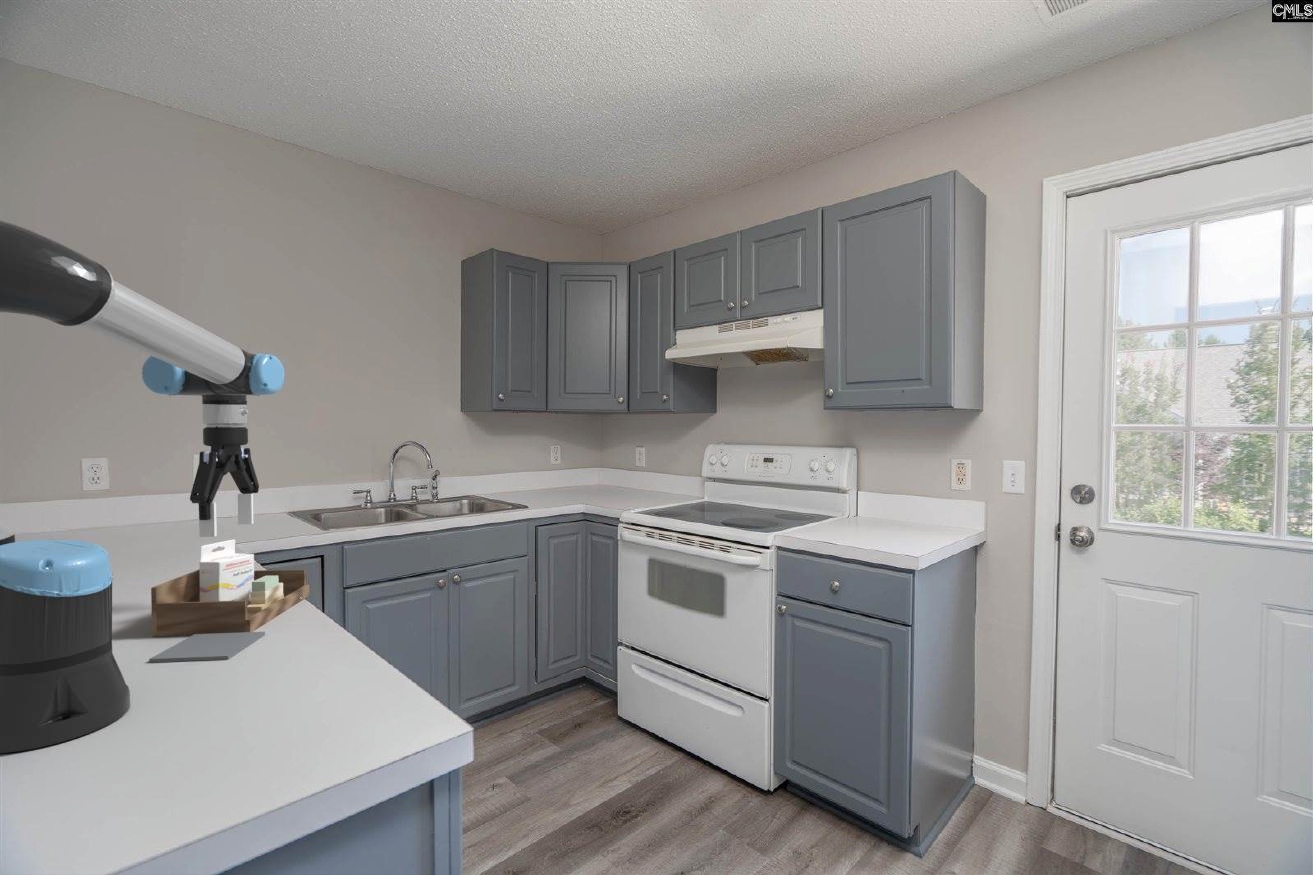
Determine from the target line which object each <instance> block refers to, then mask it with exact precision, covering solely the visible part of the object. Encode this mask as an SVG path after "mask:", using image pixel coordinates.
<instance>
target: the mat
mask: <svg viewBox="0 0 1313 875" xmlns="http://www.w3.org/2000/svg"><path fill="white" fill-rule="evenodd" d="M265 635H266V631H253V632H242V633H214V634H194V635H189V637H187V638H185V639H183V640H181V641H179V642H178V643H176V644H174V645H173V646H171V647H169V648H166V649H165V650H163V651H160V652H159V653H157V654H156V655H154V656H152V657H150V658H149V659H148V662H149V663H150V664H151V663H172V662H173V663H174V662H175V663H176V662H198V661H221V660H222V661H225V660H230V659H231V658H232V657H234V656H236V655H237V654H239V653H240V652H241V651H244V650H245V649H246V648H248V647H249V646H250V645H252V644H254V643H255V642H257V641H258V640H260V639H261V638H263V637H264V636H265Z"/></svg>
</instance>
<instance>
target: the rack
mask: <svg viewBox="0 0 1313 875" xmlns="http://www.w3.org/2000/svg"><path fill="white" fill-rule="evenodd" d="M306 574H307V570H306V569H305V568H304V569H303V568H301V569H300V568H299V569H267V570H266V569H265V570H263V569H261V570H260V569H259V570H258V569H257V570H254V581H255V580H257V579H259V578H262V577H264V576H275V575H278V578H279V583H283V594H284V598H282V599H280V600H279V601H277V602H275V603H274V604H272V605H270V606H269V607H267V608H265V609H263V610H262V611H260V612H258V613H257V614H255V615H253V616H251V617H250V618H248V619H247V600H240V601H206V602H200V568H199V569H197V570H194V571H192V572H189V573H187V574H183V575H181V576H178V577H175V578H174V579H170V580H168V581H165V582H163V583H160V584H158V585H155V586H152V587H151V588H150V591H151V595H150V596H151V601H150V603H151V605H150V606H151V637H177V636H178V637H181V636H183V637H184V636H192V635H194V634H214V633H242V632H255V631H256V630H258V629H259V628H261V627H262V626H264V625H266V624H267V623H269V622H270V621H271V620H273V619H275V618H276V617H279V616H280V615H281V614H283V613H285V612H286V611H287V610H290V609H291V608H292V607H294V606H296V605H297V604H299V603H301V602H302V601H303V600H305V599H307V598H308V597H310V594H311V592H310V586H311V585H310V584H307V580H306V579H307V578H306V577H307V576H306ZM300 597H301V598H302V599H303V600H302V599H301V598H300Z"/></svg>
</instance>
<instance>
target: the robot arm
mask: <svg viewBox="0 0 1313 875" xmlns="http://www.w3.org/2000/svg"><path fill="white" fill-rule="evenodd" d="M0 313H9V314H18V315H19V314H20V315H26V316H33V317H38V318H41V319H46V320H47V321H51V322H53V323H55V324H56V325H57V324H58V325H60V326H63V327H68V328H71V327H72V328H73V327H75V328H76V327H80V326H81V327H84V328H85V329H89V330H91V331H93V332H95V333H97V334H100V335H103V336H104V337H107V338H110V339H112V340H114V341H116V342H119V343H121V344H123V345H125V346H127V347H131V348H132V349H135V350H137V351H139V352H142V353H144V354H146V355H148V356H149V357H147V359H146V360H145V362H144V363H143V364H142V367H141V371H142V373H141V374H142V376H141V378H142V381H143V384H145V386H146V387H147V388H148V389H149V390H150V391H152V392H153V393H155V394H159V395H167V396H170V397H171V396H201V404H202V424H203V425H205V427H203V429H202V444H203V445H204V446H205V447H210V451H200V452H199V455H198V456H199V457H198V459H199V460H198V467H197V468H196V469H197V470H196V473H195V477H194V481H193V484H192V488H191V492H190V497H189V501H190V502H191V504H198V528H199V529H198V530H199V531H198V532H199V538H202V537H203V538H204V537H205V538H206V537H207V538H211V537H213V538H215V537H217V536H218V532H217V531H218V527H217V526H218V525H217V523H218V522H217V502H214V499H215V497H216V495H217V492H218V490H219V488H220V485H221V483H222V480H223V478H224V476H227V474H228V473H229V474H230V476H231V478H232V479H233V482H234V483H235V485H236V487H237V489H238V491H239V493H237V519H238V520H237V524H238V526H239V525H253V524H254V523H255V522H254V494H258V493H259V492H260V491H259V490H260V484H259V480H258V477H257V473H256V471H255V467H254V465H253V460H252V457H251V456H252V454H251V448H249V447H242V446H246V445H248V444H249V430H248V429H249V428H247V427H246V426H245V425H247V424H248V414H249V413H250V412H249V409H248V401H247V396H255V397H259V396H262V395H263V396H264V395H265V396H267V395H268V396H269V395H274V394H276V393H278V392H279V391H280V390H281V389H282V388H283V385H284V383H285V382H284V380H285V376H286V374H285V373H286V372H285V368H284V366H283V363H282V362H281V361H280V360H279V359H278V357H277V356H275V355H272V354H269V353H268V354H265V353H262V352H261V353H259V352H258V353H251V352H248V351H246V350H243V349H242V348H240V347H239V346H237V345H235V344H233V343H231V342H229V341H227V340H226V339H223V338H222V337H220V336H217V335H216V334H214V333H212V332H211V331H209V330H206V328H204V327H201V326H199V325H197V324H196V323H194V322H192V321H190V320H188V319H186V318H185V317H183V316H181V315H179V314H177V313H175V312H174V311H171V310H170V309H168V308H166V307H164V306H162V305H161V304H158V303H156V302H155V301H152V300H151V299H149V298H148V297H146V296H144V295H142V294H140V293H138V292H136V291H134V290H133V289H131V288H130V287H126V285H124V284H121V283H119V282H117V281H116V280H114V278H113V275H112V273H111V271H109V270H108V269H107V268H106V267H105V266H103V265H102V264H100V263H98V262H96V261H95V260H93V259H91V258H89V257H87V256H85V255H83V254H82V253H80V252H78V251H76V250H74V249H72V248H70V247H68V246H66V245H64V244H61V243H60V242H59V241H58V242H57V241H55V240H53V239H51V238H49V237H47V236H44V235H42V234H39V233H37V232H35V231H34V230H33V231H32V230H30V229H27V228H25V227H22V226H20V225H16V224H14V223H11V222H7V221H3V220H0ZM113 574H114V573H113V571H112V569H111V561H110V554H109V553H108V551H107V549H106V548H104V547H103V546H101V545H99V544H96V543H93V542H90V541H85V540H76V539H75V540H74V539H56V540H54V539H52V540H51V539H34V540H33V539H31V540H23V541H16V536H15V530H14V529H13V528H11V527H9V526H7V525H5V524H3V523H1V522H0V754H5V753H6V754H7V753H15V752H22V751H28V750H34V749H38V748H39V749H40V748H43V747H47V746H52V745H56V744H60V743H63V742H67V741H69V740H72V739H76V738H79V737H81V736H85V735H88V734H90V733H93V732H95V731H98V730H100V729H102V728H105V727H107V726H109V725H110V724H112V723H114V722H116V721H117V720H119V719H121V718H122V717H123V716H124V715H126V714H127V713H128V711H129V710H130V709H131V691H130V688H129V685H128V684H126V681H125V678H124V676H123V673H122V671H121V669H120V667H119V664H118V662H117V661H116V659H115V657H114V652H113V580H114V578H113Z"/></svg>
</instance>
